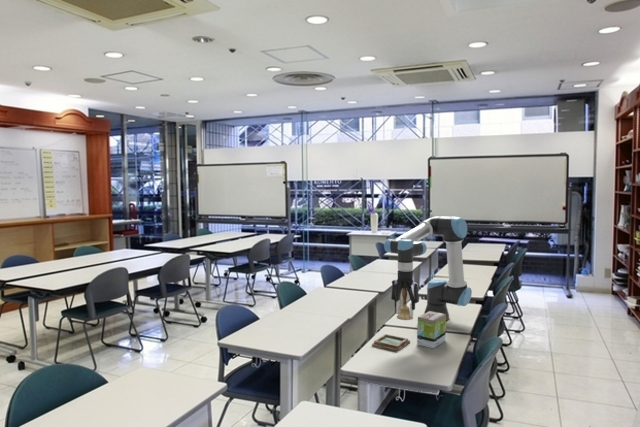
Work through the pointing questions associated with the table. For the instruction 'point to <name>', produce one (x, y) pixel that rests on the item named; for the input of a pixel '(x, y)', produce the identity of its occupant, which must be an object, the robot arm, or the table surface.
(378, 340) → the stand
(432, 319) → the tea box
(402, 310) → the hand bell
